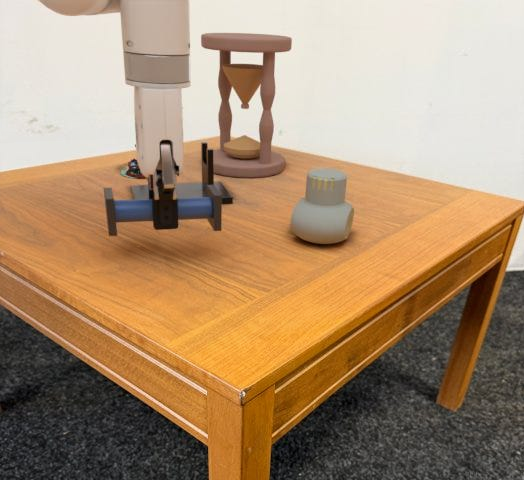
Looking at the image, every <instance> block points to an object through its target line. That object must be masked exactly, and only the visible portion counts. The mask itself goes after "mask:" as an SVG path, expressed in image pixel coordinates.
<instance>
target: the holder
mask: <svg viewBox="0 0 524 480" xmlns="http://www.w3.org/2000/svg"><path fill="white" fill-rule="evenodd" d="M200 147H201V148H200V154H201V156H200V157H201V182H184V183H183V182H182V183H181V182H180V183H176V188H177V198H197V197H207V185H215V187H216V188H217V190H218V191H219V192H220V194H221V195H222V205H233V203H234V197H233V196H232V194H231V193H230V192H229V191H228V189H227V188H226V187H225V186H224V184H223V183H222V182H221V181H215V178H214V177H215V173H214V165H213V151H214V148H208V147H209V146H208V142H206V141H202V142H200ZM130 190H131V192H132V193H131V194H132V196H133V200H137V199H149V190H154V189H150V185H149V177H148V178H147V184H141V185H140V184H139V185H130Z"/></svg>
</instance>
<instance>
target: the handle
mask: <svg viewBox="0 0 524 480" xmlns="http://www.w3.org/2000/svg"><path fill="white" fill-rule="evenodd" d="M113 193H114V191H113V188H112V187H103V195H104V207H105V215H106V216H105V217H106V225H107V231H108V236H109V237H118V230H117V224H118V223H138V222H140V223H141V222H142V223H143V222H153V210H152V199H137V200H135V199H115V197H114V194H113ZM222 208H223V204H222V195H221V194H220V192H219V191H218V190H217V188H216V187H215V185H207V197H197V198H178V221H183V220H184V221H185V220H188V221H189V220H207V221H208V223H209V225H210V227H211V228H212V230H213V232H222V213H223V211H222V210H223V209H222Z"/></svg>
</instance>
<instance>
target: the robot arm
mask: <svg viewBox="0 0 524 480" xmlns="http://www.w3.org/2000/svg"><path fill="white" fill-rule="evenodd" d="M37 1H38V2H40V4H42V5H43V6H45V7H46V8H47V9H49V10H51V11H52V12H54V13H56V14H59V15H62V16H68V17H78V16H98V15H108V14H117V13H119V14H120V24H121V25H120V26H121V27H120V28H121V40H122V41H121V43H122V55H123V69H124V80H125V81H124V83H125V85H127V86H130V87H133V109H134V110H133V111H134V131H135V132H134V133H135V134H134V135H135V145H136V147H135V159H136V160H137V162H138V165H139V168H140V170H141V173H142V174H143V175H144V176H145V177H149V185H150V189H154V190H149V199H152V210H153V221H152V225H153V229H154V230H155V231H162V230H177V229H178V228H179V220H178V198H177V188H176V184H177V177H180V176H182V175H183V173H184V159H185V158H184V156H185V155H184V153H185V152H184V149H185V148H184V120H183V119H184V117H183V115H184V114H183V108H184V107H183V96H182V95H183V94H182V93H183V91H182V89H186V88H190V87H191V85H192V83H191V31H190V30H191V29H190V28H191V27H190V26H191V25H190V22H191V21H190V17H191V16H190V0H37Z"/></svg>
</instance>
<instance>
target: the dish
mask: <svg viewBox="0 0 524 480" xmlns="http://www.w3.org/2000/svg"><path fill="white" fill-rule="evenodd" d="M134 146H135V147H134V148H136V144H134ZM127 163H128V164H127V168H124V169H121V171H120V175H122V177H127V178H130V179H138V180H139V179H140V180H141V179H148V177H145V176H144V175H143V174H142V173H141V170H140V168H139V165H138V162H137V158H133V159H130V161H128V162H127Z"/></svg>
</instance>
